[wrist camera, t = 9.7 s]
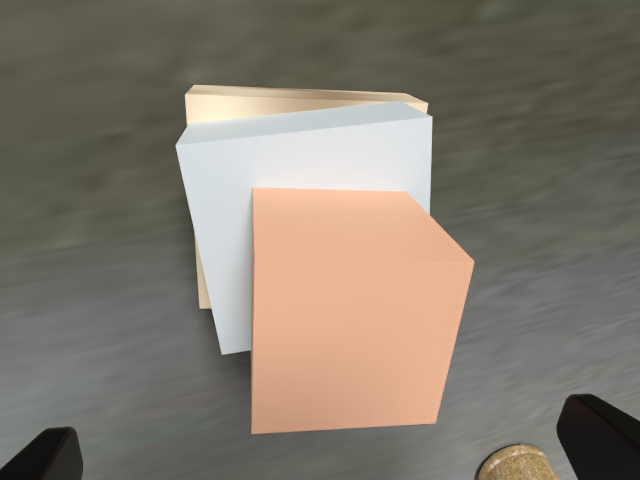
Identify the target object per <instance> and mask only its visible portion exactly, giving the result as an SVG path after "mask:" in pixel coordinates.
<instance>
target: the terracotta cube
mask: <svg viewBox="0 0 640 480" xmlns="http://www.w3.org/2000/svg"><path fill="white" fill-rule="evenodd" d="M473 266H474V261H473V260H472V259H471V257H470V256H469V255H468V254H467V253H466V252H465V251H464V250H463V249H462V248H461V247H460V246H459V245H458V244H457V243H456V242H455V241H454V240H453V239H452V238H451V237H450V236H449V235H448V234H447V233H446V232H445V231H444V230H443V229H442V228H441V227H440V226H439V225H438V224H437V222H436V221H435V220H434V219H433V218H432V217H431V216H430V215H429V214H428V213H427V212H426V211H425V210H424V209H423V208H422V207H421V206H420V205H419V204H418V203H417V202H416V201H415V200H414V199H413V198H412V197H411V196H410V195H409V194H408V193H407V192H406V191H370V190H334V189H296V188H259V187H253V192H252V267H251V418H252V434H262V433H278V432H295V431H312V430H329V429H345V428H362V427H379V426H395V425H412V424H429V423H436V419H437V415H438V410H439V406H440V402H441V398H442V394H443V390H444V386H445V382H446V377H447V373H448V369H449V365H450V361H451V357H452V353H453V349H454V344H455V340H456V336H457V332H458V328H459V324H460V320H461V316H462V311H463V307H464V303H465V299H466V295H467V291H468V287H469V283H470V279H471V274H472V270H473Z"/></svg>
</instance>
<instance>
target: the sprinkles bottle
mask: <svg viewBox="0 0 640 480" xmlns="http://www.w3.org/2000/svg"><path fill="white" fill-rule="evenodd" d="M478 480H560V479H559V477H558V475H557V474H556V473H555V471H554V470H553V469H552V467H551V465H550V463H549V460H548V458H547V456H546V455H545V453H544V452H543V451H541V450H540V449H539V448H537V447H534V446H529V445H523V444H520V445H514V446H510V447H506V448H504V449H502V450H500V451H498V452H496V453H494V454H493V455H492V456H490V457H489V459H488V460H487V461H486V462H485V463H484V464H483V466H482V468H481V470H480V473H479V476H478Z"/></svg>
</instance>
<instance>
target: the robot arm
mask: <svg viewBox="0 0 640 480" xmlns="http://www.w3.org/2000/svg"><path fill="white" fill-rule="evenodd" d="M556 429H557V435H558V438H559V441H560V443H561V445H562V447H563V449H564V451H565V453H566V455H567V457H568V459H569V462H570V464H571V466H572V468H573V470H574V472H575V474H576V476H577V478H578V480H640V421H639V420H637V419H635V418H633V417H632V416H630V415H628V414H626V413H625V412H623V411H621V410H619V409H617V408H616V407H614V406H612V405H610V404H609V403H607V402H605V401H603V400H602V399H600V398H598V397H596V396H594V395H592V394H573V395H570V396H569V397H568V398H567V399H566V401H565V404H564V406H563V409H562V412H561V414H560V417H559V420H558V422H557V428H556ZM82 473H83V459H82V455H81V450H80V446H79V442H78V437H77V433H76V431H75V429H74V428H73V427H57V428H48V429H46V430H44V431H43V432H41V433H40V434H39V435H38V436H37V437H36V438H35V439H34V440H32V441H31V442H30V443H29V444H28V445H27V446H26V447H25V448H23V449H22V450H21V451H20V452H19V453H18V454H17V455H16V456H15V457H13V458H12V459H11V460H10V461H9V462H8V463H7V464H6V465H5V466H3V467H2V468H1V469H0V480H81V478H82Z"/></svg>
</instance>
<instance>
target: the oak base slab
mask: <svg viewBox="0 0 640 480" xmlns="http://www.w3.org/2000/svg"><path fill="white" fill-rule="evenodd" d="M185 101H186V116H187V126H188V125H189V123H199V122H208V121H217V120H227V119H236V118H245V117H255V116H264V115H273V114H283V113H292V112H302V111H311V110H320V109H330V108H339V107H348V106H358V105H367V104H377V103H386V102H395V101H401V102H403V103H405V104H407V105H409V106H411V107H413V108H415V109H418V110H420V111H422V112H424V113H426V114H427V108H428V103H426V102H424V101H421V100H419V99H417V98H415V97H412V96H410V95H408V94H406V93H384V92H359V91H334V90H310V89H285V88H260V87H235V86H210V85H194V86H193V87H192V88H191V89H190V90H189V91H188V92H187V93H186V94H185ZM194 232H195V231H194ZM195 247H196V261H197V276H198V291H199V305H200V309H208V308H211V303H210V299H209V294H208V290H207V285H206V280H205V276H204V271H203V267H202V262H201V258H200V253H199V249H198V244H197V240H196V235H195Z"/></svg>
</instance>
